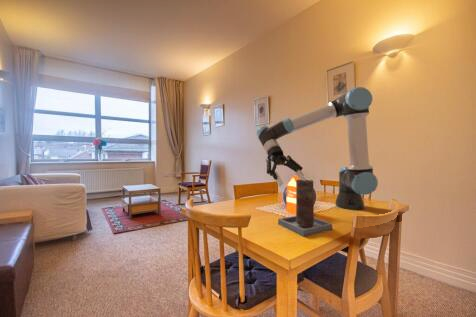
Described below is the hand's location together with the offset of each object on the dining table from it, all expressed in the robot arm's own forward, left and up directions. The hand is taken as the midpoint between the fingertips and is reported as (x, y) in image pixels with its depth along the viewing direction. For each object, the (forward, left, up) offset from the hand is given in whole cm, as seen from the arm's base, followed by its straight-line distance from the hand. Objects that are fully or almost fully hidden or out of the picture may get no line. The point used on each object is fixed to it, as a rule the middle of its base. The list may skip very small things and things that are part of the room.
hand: (293, 183), depth 103 cm
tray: (0, +7, -18) cm, 19 cm away
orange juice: (-12, -11, -18) cm, 25 cm away
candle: (-1, +7, -17) cm, 19 cm away
